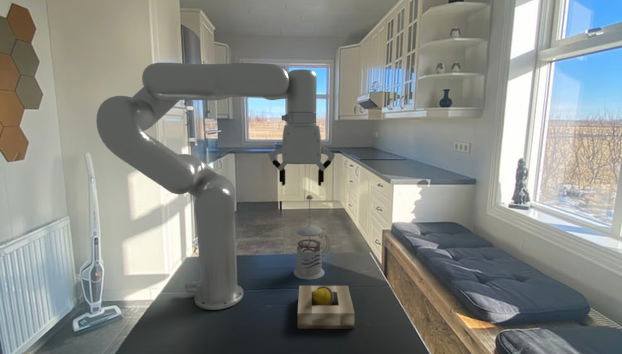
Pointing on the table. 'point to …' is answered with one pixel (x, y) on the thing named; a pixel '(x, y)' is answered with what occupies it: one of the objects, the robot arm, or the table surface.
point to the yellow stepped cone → (323, 297)
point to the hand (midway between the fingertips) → (301, 184)
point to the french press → (309, 267)
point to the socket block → (325, 309)
